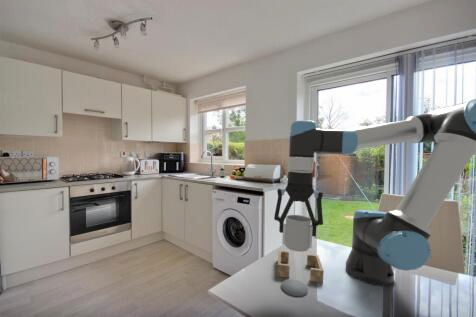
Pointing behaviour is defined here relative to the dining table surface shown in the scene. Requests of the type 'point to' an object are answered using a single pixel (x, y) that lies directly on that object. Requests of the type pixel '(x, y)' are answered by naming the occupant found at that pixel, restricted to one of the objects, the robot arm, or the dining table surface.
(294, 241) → the cup
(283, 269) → the wooden brackets
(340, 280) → the dining table surface
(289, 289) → the coaster
